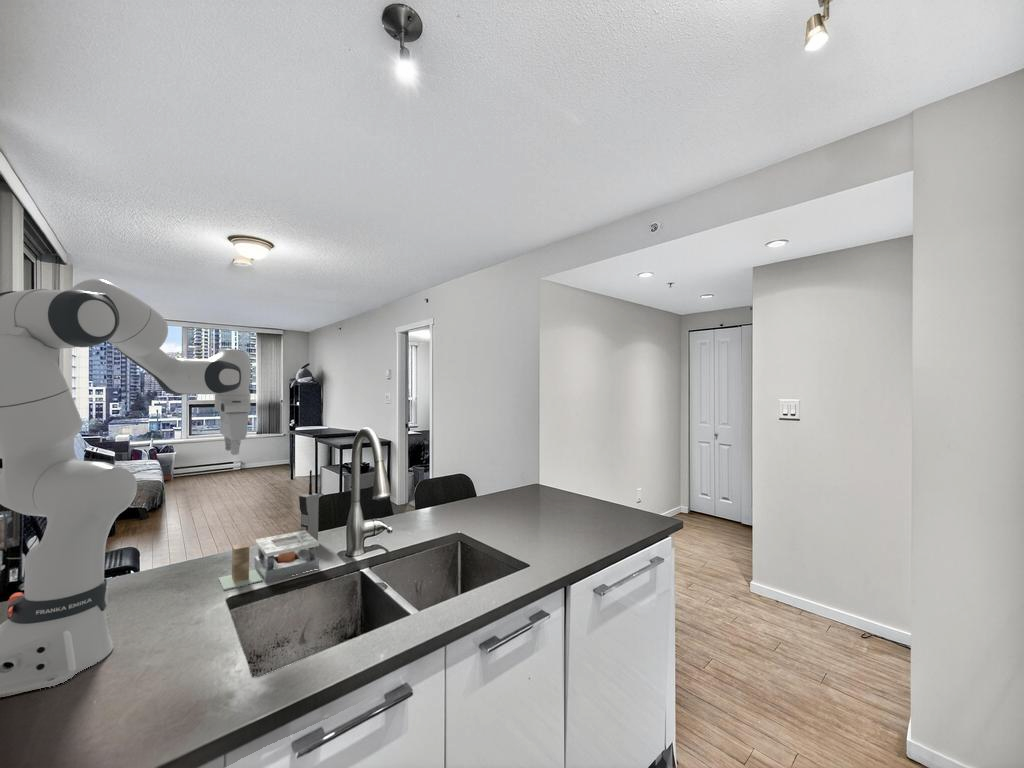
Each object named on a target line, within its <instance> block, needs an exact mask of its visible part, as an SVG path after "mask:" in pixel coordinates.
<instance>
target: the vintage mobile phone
mask: <svg viewBox="0 0 1024 768" xmlns="http://www.w3.org/2000/svg"><path fill="white" fill-rule="evenodd" d="M312 474H313V471H312V469H310V470H309V484H308V493H304V494H301V495H299V496H298V502H299V505H298V506H299V511H300V531H303V530H305V531H306V532H308V533H309V534H310V535H311V536H312V537H313V538H315V539H316V540H317V541H318V542H319V511H320V509H319V506H320V503H319V501H320V496H319V495H320V494H318V493H315V492H313V491H312V490H313V488H312V487H313V483H312V478H313V475H312Z"/></svg>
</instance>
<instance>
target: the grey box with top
mask: <svg viewBox="0 0 1024 768" xmlns="http://www.w3.org/2000/svg"><path fill="white" fill-rule="evenodd" d="M291 540H297V542H294V543H290V544H285V545H280V546H276V544H277V543H282V542H285V541H291ZM275 543H276V544H275ZM254 544H255V545H256V547H258V555H255V556H254V568H255V570H256V571H257V573H258V574H259V576H260V577H261V579H262V581H263V582H264V583H265V584H267V583H269V582H270V581H271V582H274V580H275V581H279V580H283V579H286V578H285V577H287V578H290V577H289V576H291V577H293V576H292V575H295V576H297V575H296V574H299V573H303V572H306V571H310V570H314V569H318V568H319V567H320V559H319V558H318V557H317V556H316V547H320V542H319V540H318V541H317V540H316V539H315V538H313V537H312V536H311V535H310V534H309V533H308V532H306V531H305V530H303V531H301V530H298V531H293V532H288V533H282V534H277V535H273V536H267V537H260V538H256V539H254ZM293 551H295V560H292V561H288V562H283V563H279V564H278V555H279V554H283V553H288V552H293ZM299 575H300V574H299ZM282 578H283V579H282ZM278 579H279V580H278ZM266 582H267V583H266Z"/></svg>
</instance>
